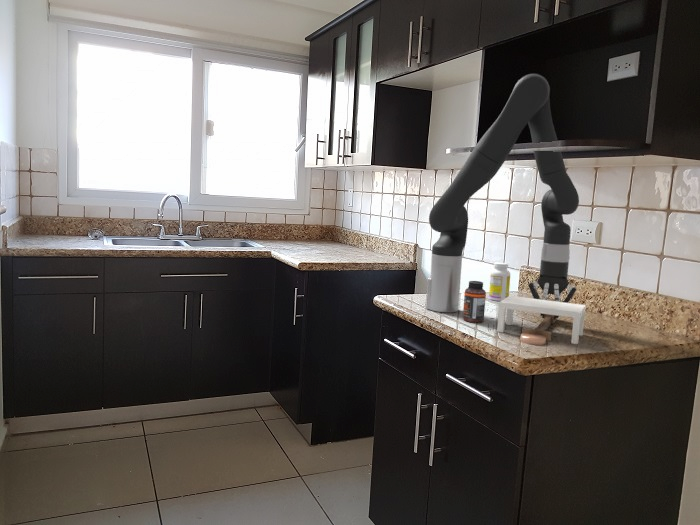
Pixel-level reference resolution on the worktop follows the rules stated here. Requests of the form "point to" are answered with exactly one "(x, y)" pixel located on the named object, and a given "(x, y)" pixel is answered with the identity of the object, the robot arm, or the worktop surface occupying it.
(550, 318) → the walnut push stick
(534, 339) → the terracotta coaster
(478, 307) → the supplement bottle
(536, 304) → the white shelf
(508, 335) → the worktop surface
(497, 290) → the supplement bottle
